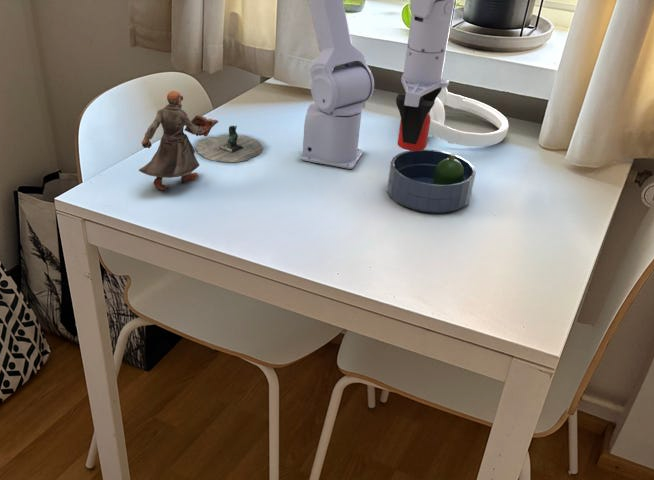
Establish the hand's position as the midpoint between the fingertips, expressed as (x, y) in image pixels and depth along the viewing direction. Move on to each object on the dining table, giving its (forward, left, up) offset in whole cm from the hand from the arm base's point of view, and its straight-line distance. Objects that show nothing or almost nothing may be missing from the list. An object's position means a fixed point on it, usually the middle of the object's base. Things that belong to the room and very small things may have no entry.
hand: (412, 136), depth 118 cm
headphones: (+4, +31, -10) cm, 32 cm away
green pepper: (+7, +1, -9) cm, 11 cm away
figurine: (-35, -12, -10) cm, 38 cm away
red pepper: (0, 0, -1) cm, 1 cm away
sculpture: (-33, +5, -10) cm, 35 cm away
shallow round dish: (+4, +1, -10) cm, 10 cm away
